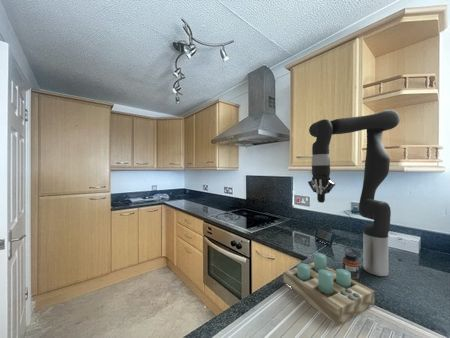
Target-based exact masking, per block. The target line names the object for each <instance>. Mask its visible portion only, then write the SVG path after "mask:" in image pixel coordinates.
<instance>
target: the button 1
mask: <svg viewBox="0 0 450 338" xmlns="http://www.w3.org/2000/svg"><path fill="white" fill-rule="evenodd" d="M307 264H308V263H307ZM307 264H306V263H302V262H300V263H297V265H296V268H297V278H299V279H300V280H302V281H303V282H306V281H308V280H310V266H309V265H307Z"/></svg>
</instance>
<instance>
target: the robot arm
mask: <svg viewBox="0 0 450 338" xmlns="http://www.w3.org/2000/svg"><path fill="white" fill-rule="evenodd" d="M400 121H401V118H400V115H399V113H398V112H397V111H396V110H393V109H386V110H382V111H380V112H379V111H378V112H376V113H372V114H368V115H361V116H360V115H359V116H352V117H343V118H335V119H333V120H329V119H325V118H324V119H321V120H319V121H316V122H313V123H312V124H311V125H310V127H309V129H308V133H309V134H310V135H311V136H312V137H313V138H316V139H315V142H313V144H312V148H311V151H312V152H311V154H312V156H311V175H312V177H311V180H309V181H307V183H308V185H309V187H310V189H311V190H312V192H313V193H316V194H317V197H316V198H317V201H318V203H320V204H321V203H324V202H325V201H326V194H330V192H331V191H332V190H333V188H334V187H335V186H336V182H332V181H331V177H330V175H331V158H330V144H331V140H332V136H333V135H344V134H350V133H354V132H359V131H363V130H364V131H365V130H366V149H365V151H366V152H365V158H364V159H365V160H364V161H365V162H364V168H363V169H364V172H363V183H362V189H361V193H360V199H359V203H358V213H359V214H360V216H361V217H362V218H366V219H369V220H372V221H373V224H371V225H370V224H369V225H365V226H363V228H362V230H363V231H362V234H363V235H362V237H363V238H362V239H363V240H362V243H363V247H362V251H363V252H362V254H363V256H362V257H363V260H362V261H363V263H362V264H363V265H362V266H363V267H362V268H363V270H365V272H367V273H369V274H371V275H375V276H377V277H387V276H389V232H390V229H391V218H392V217H391V214H392V211H391V207H390V205H389V203H387V202H386V201H383V200H377V199H376V200H375V195H376V191H377V190H378V188H379V186H380V185H381V184H382V183H383V182H384V181H385V179H386V177H388V174H389V172H390V162H391V158H390V156H389V153H388V152H387V150H386V148H385V146H384V144H383V133H384V132H385V131H389V130H392V129H394V128H396V127H397V126H398V125H399V124H400Z"/></svg>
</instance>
